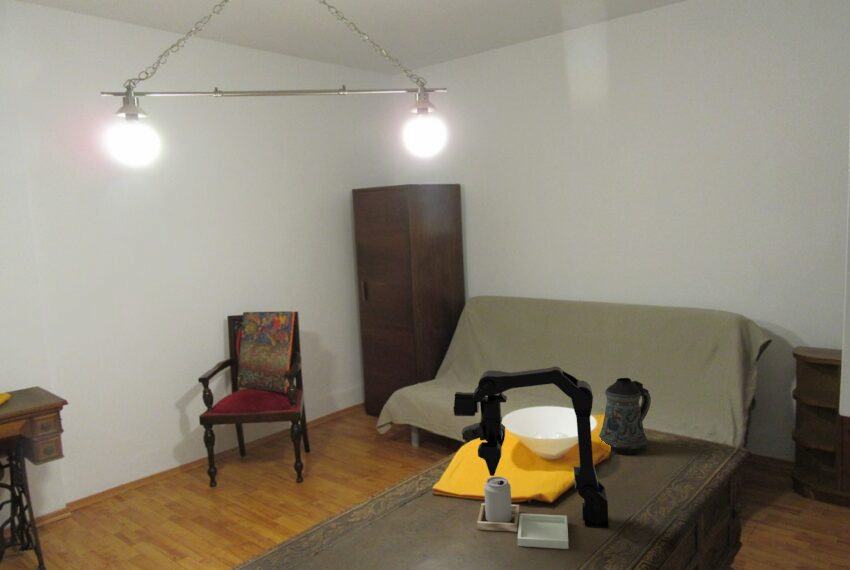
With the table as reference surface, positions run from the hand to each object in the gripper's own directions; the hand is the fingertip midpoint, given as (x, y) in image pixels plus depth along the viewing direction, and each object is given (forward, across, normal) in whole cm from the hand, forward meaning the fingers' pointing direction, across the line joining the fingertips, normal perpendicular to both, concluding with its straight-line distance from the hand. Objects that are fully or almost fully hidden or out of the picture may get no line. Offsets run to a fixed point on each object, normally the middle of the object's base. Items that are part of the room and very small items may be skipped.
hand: (493, 468), depth 169 cm
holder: (+15, +2, +1) cm, 15 cm away
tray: (+15, +8, +14) cm, 21 cm away
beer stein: (+15, -55, +42) cm, 71 cm away
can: (+15, +2, +1) cm, 15 cm away
